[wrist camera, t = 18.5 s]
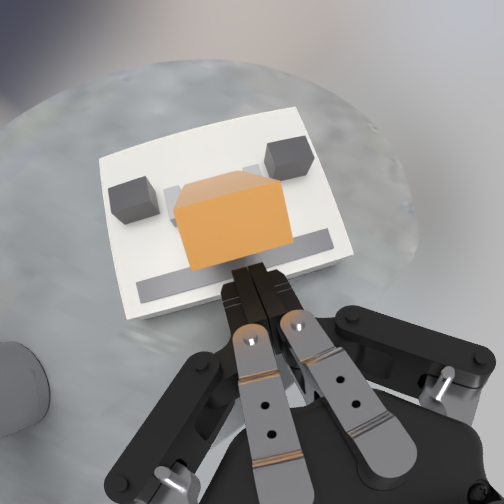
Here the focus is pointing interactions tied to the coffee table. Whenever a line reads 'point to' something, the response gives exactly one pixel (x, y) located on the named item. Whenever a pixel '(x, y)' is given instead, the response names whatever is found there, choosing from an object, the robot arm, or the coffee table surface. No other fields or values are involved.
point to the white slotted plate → (198, 168)
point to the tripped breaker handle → (231, 218)
